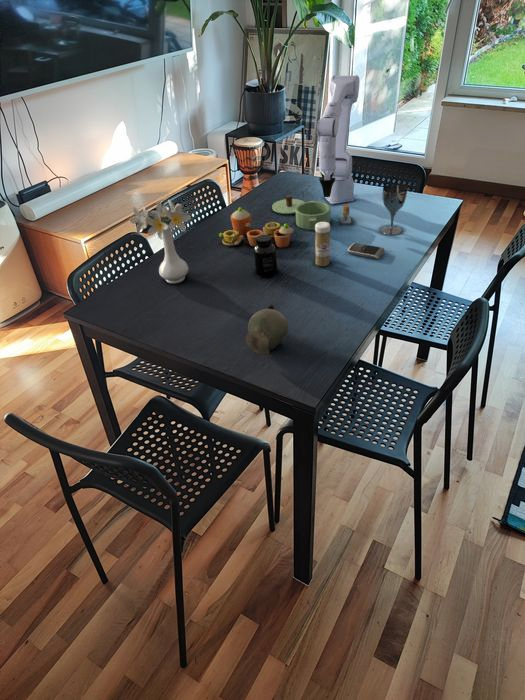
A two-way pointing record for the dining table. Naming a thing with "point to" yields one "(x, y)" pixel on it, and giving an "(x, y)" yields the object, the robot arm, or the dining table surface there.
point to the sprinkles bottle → (322, 243)
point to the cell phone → (366, 250)
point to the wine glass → (393, 204)
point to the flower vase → (165, 237)
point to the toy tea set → (243, 226)
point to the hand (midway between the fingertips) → (327, 192)
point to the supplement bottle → (265, 256)
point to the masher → (346, 213)
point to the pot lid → (287, 205)
